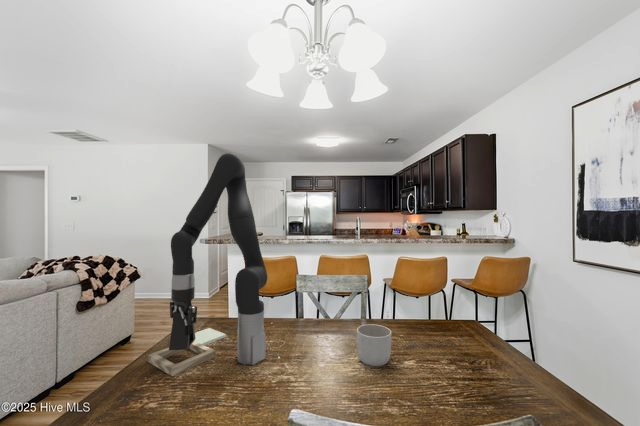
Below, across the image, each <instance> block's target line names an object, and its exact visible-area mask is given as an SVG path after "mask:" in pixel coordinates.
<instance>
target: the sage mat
mask: <svg viewBox="0 0 640 426" xmlns="http://www.w3.org/2000/svg"><path fill="white" fill-rule="evenodd" d="M223 338H224V339H225V338H227V333H224V332H221V331H218V330H216V329H213V328H211V327H208V328H205V329H202V330H199V331H197V332H195V340H194V341H195V342H197V343H200V344H202V345H204V346H206V345H208V344H209V345H210V344H211V343H213V342H217V341H219V340H222V339H223Z"/></svg>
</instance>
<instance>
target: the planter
mask: <svg viewBox="0 0 640 426" xmlns="http://www.w3.org/2000/svg"><path fill="white" fill-rule="evenodd" d="M392 334H393V332H392V330H391V329H390V328H388V327H386V326H384V325H381V324H373V323H372V324H371V323H369V324H362V325H359V326H358V327H357V328H356V348H357V356H358V358H359V360H360V361H361V362H362V363H364V364H365V365H367V366H370V367H381V366H384V365H386V364H388V362H389V361H390V359H391V352H392Z"/></svg>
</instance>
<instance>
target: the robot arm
mask: <svg viewBox="0 0 640 426" xmlns="http://www.w3.org/2000/svg"><path fill="white" fill-rule="evenodd" d="M245 168H246V167H245V165H244V163H243V161H242V159H241V158H240V157H239V156H238V155H237V154H236V153H231V152H226V153H223V154H222V155H220V157H219V158H218V160H217V161H216V164H215V166H214V168H213V171H212V173H211V175H210V177H209V180H208V182H207V183H206V185H205V186H204V188H203V191H202V192H201V194H200V195H199V197H198V199H197V201H196V202H195V203H194V205H193V207H192V208H191V209H190V211H189V213H188V214H187V216H186V218H185V222H184V223H183V225H182V227H181V228H180V229H179V231H177V232H175V233H174V234H173V235H172V237H171V240H170V250H171V251H170V252H171V257H172V274H171V275H172V276H171V298H170V299H171V301H169V316H170V319H173V313H174V312H180V313H181V316H182V319H183V320H184V322H185V335H186V336H187V334H189V335H191V334H192V324H193V323H194V324H196V323H197V317H198V315H197V314H198V307H197V306H196V305H195V306H193V304H192V301H193V300H194V299H195V292H196V291H195V285H196V284H195V262H194V258H193V246H194V245H195V244H196V242H197V240H198V239H199V237H200V235H201V233H202V231H203V229H204V227H206V225H207V223H208V222H209V220H210V219H211V218H212V216H213V214H214V213H215V210H216V208H217V206H218V203H219V201H220V198H221V196H222V194H223V192H224V190H225V189H226V194H227V219H228V225H229V230H230V235H231V236H232V238H233V240H234V242H235V243H236V245H237V246H238V248H239V250H240V252H241V254H242V257H243V262H244V268H241V269H240V270H239V271H238V272H237V274H236V275H235V281H234V290H235V291H234V292H235V293H234V294H235V295H234V296H235V304H236V307H237V344H236V345H237V352H236V353H237V362H238V363H240V364H243V365H251V366H252V365H256V364H257V363H259V362H261V361H264V360H265V359H266V343H267V342H266V336H267V335H266V331H264V326H265V324H264V322H265V315H264V314H265V304H264V302H263V301H262V300H260V290H261V289H263V288H264V287H265V286H266V284H267V282H268V273H267V268H266V265H265V262H264V259H263V255H262V252H261V247H260V243H259V242H260V241H259V238H258V231H257V227H256V221H255V216H254V213H253V208H252V204H251V201H250V198H249V195H248V190H247V181H246V171H245V170H246V169H245ZM188 313H189V314H188ZM187 314H188V316H185V315H187ZM187 318H188V321H187ZM192 318H193V319H192Z"/></svg>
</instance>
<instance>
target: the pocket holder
mask: <svg viewBox="0 0 640 426" xmlns="http://www.w3.org/2000/svg"><path fill="white" fill-rule="evenodd" d="M187 350H190V351H191V352H194V353H196V355H194V356H191V357H190V358H187V359H184V360H182V361H179V362H177V363H174V362H172V361H170V360H168V359H167V358H169V357H172V356H174V355H176V354H179V353H182V352H184V351H186V350H169V347H166V348H163V349H161V350H157V351H154V352H151V353H150V354H148V355H147V362H148V363H149V364H151V365H152V366H154V367H155V368H157V369H159V370H161V371H162V372H164V373H166V374H167V375H169V376H170V377H174V376H177V375H179V374H181V373H183V372H186V371H187V370H190V369H193V368H195V367H196V366H199V365H202V364H203V363H206V362H208V361H209V360H212V359H215V358H216V350H215V349H213V348H211V347H208V346H206V345H202V344H200V343H197V342H195V341H194V342H193V343H192V344H191V345H190V347H189V348H188V349H187Z"/></svg>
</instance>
